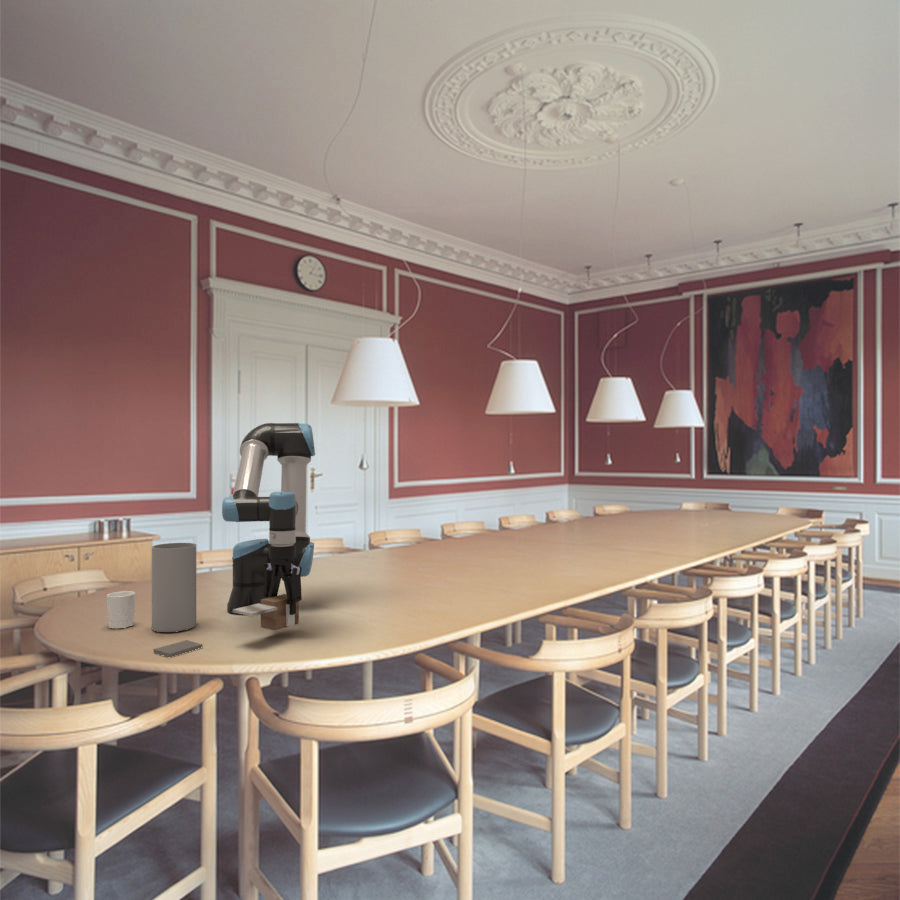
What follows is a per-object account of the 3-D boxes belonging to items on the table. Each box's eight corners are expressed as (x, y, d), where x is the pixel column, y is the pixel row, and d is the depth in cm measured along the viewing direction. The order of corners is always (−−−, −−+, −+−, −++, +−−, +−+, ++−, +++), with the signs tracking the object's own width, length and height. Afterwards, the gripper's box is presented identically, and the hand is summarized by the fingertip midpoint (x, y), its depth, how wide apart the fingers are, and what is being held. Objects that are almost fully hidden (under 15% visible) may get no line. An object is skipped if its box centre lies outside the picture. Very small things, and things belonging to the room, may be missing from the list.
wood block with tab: (282, 620, 196) (282, 593, 196) (301, 624, 192) (301, 596, 192) (232, 634, 181) (232, 605, 181) (251, 638, 177) (251, 608, 177)
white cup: (141, 623, 203) (141, 591, 203) (123, 630, 195) (123, 597, 195) (119, 622, 205) (119, 590, 205) (100, 629, 197) (100, 596, 197)
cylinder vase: (165, 621, 205) (165, 542, 205) (203, 623, 204) (203, 543, 204) (143, 633, 193) (143, 548, 193) (183, 634, 192) (183, 549, 192)
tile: (186, 645, 182) (153, 655, 174) (186, 640, 182) (153, 649, 174) (202, 650, 178) (169, 659, 170) (202, 644, 178) (169, 653, 170)
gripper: (250, 543, 193) (250, 622, 193) (295, 548, 183) (295, 631, 183) (270, 540, 199) (270, 616, 199) (315, 545, 189) (315, 625, 189)
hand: (282, 623), depth 191 cm, fingers closed on wood block with tab, 6 cm apart
